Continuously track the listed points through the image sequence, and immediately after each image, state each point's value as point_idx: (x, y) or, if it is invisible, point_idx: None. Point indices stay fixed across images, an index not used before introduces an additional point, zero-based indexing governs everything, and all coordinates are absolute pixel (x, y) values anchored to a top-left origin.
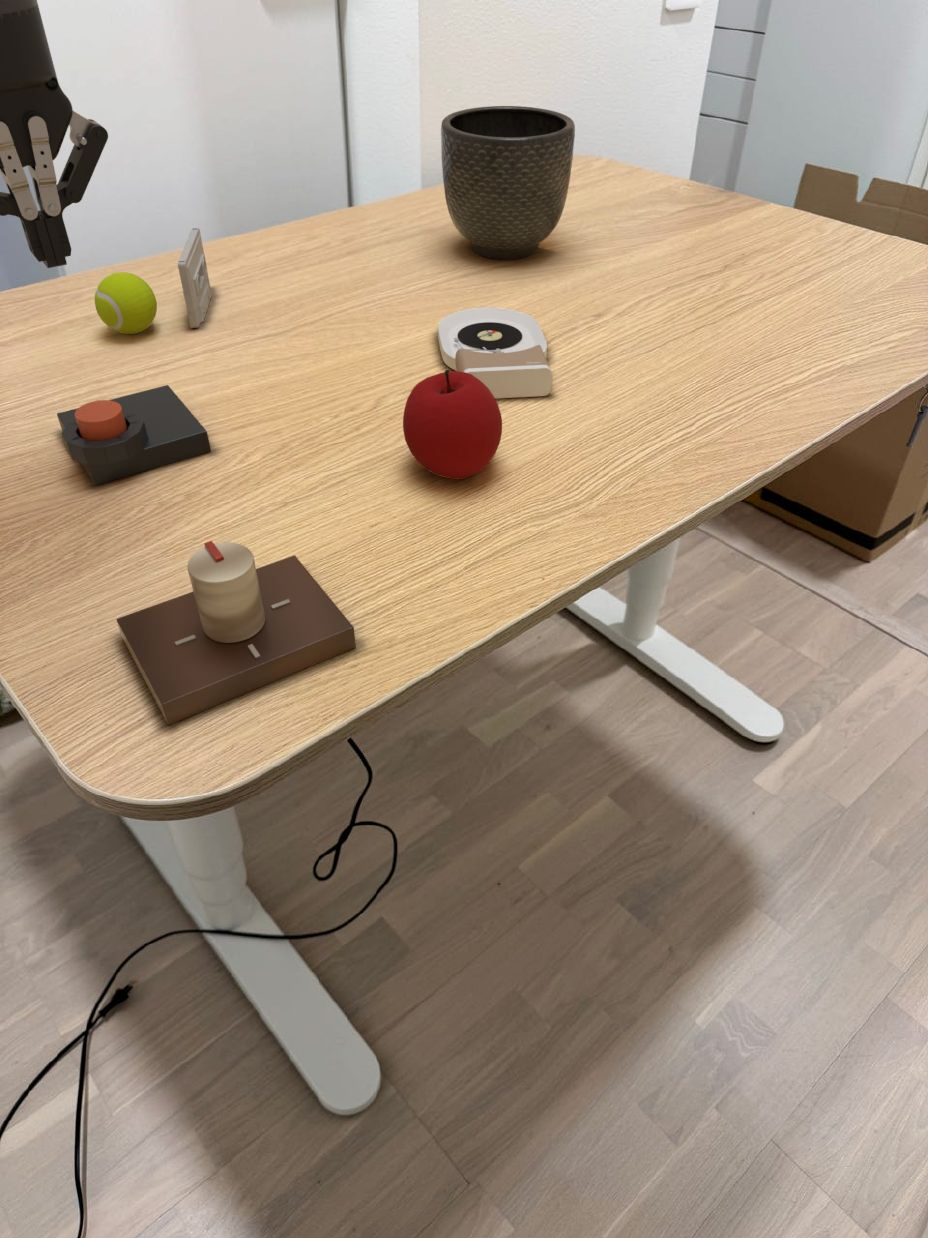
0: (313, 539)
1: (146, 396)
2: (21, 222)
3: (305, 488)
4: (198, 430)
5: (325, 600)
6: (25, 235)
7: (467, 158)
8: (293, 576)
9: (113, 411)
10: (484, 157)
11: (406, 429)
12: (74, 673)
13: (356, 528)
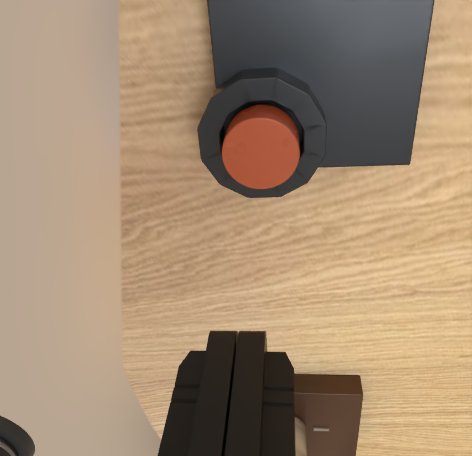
0: (401, 347)
1: None
2: (160, 452)
3: (451, 279)
4: (400, 156)
5: (353, 438)
6: (169, 408)
7: None
8: (346, 412)
9: (282, 170)
10: None
11: None
12: (165, 382)
13: (447, 352)
